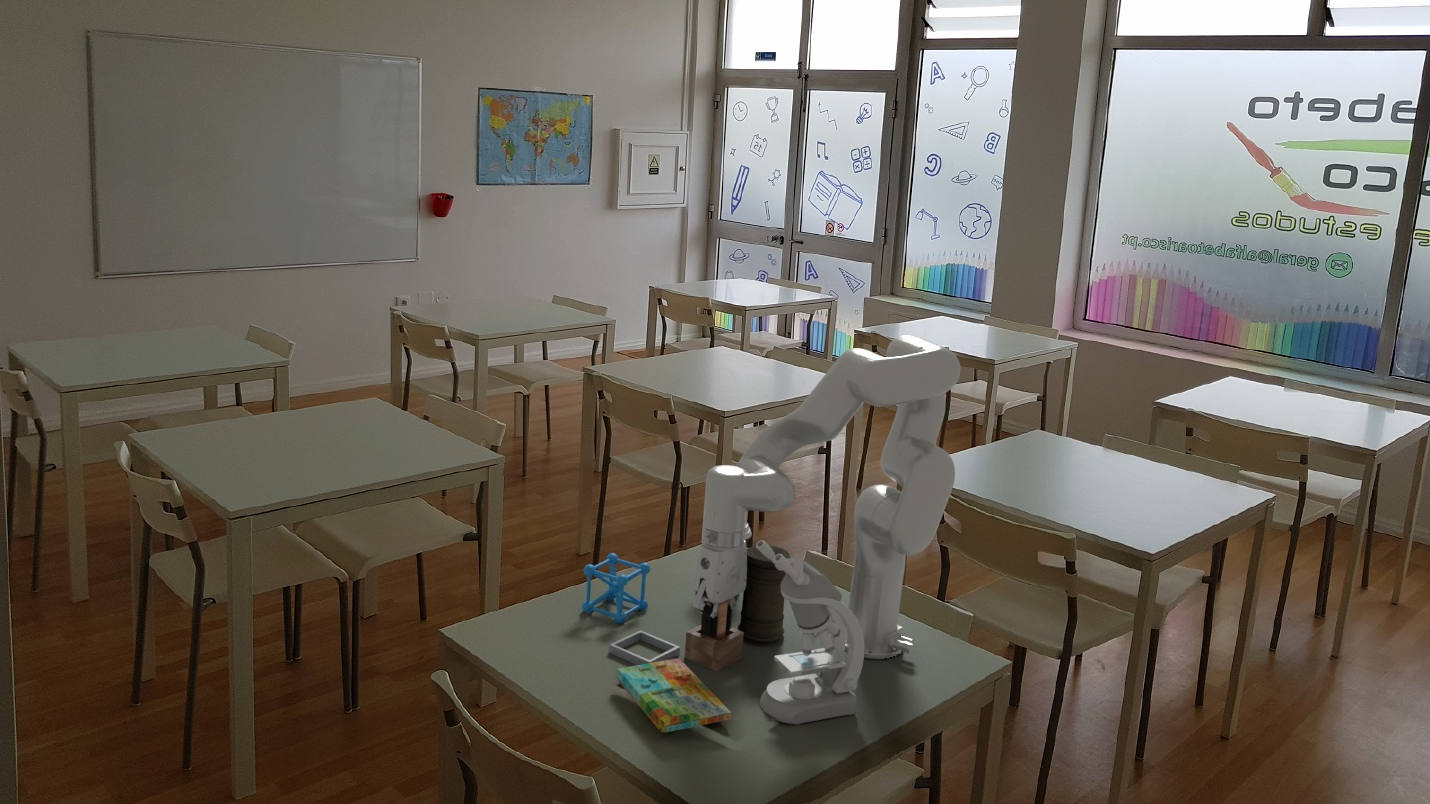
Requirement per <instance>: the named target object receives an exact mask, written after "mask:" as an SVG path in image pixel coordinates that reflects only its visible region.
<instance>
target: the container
mask: <svg viewBox="0 0 1430 804" xmlns="http://www.w3.org/2000/svg"><path fill="white" fill-rule="evenodd" d="M768 545H769V544H768ZM769 546H770V547H771V549H772V550H773V552H774V553H775V555H777V554H782V555H783V556H784V557H785V558H786V559H787V558H791V555H790V553H789V551H787V549H784V548H782V547H779V546H775V545H769ZM786 574H787V573H785V571H783V570H778V569H777V568H776V567H775V564H774V563H773V562H772V561H771V560H770V559H768V558H767V557H765V556H764V555H763V554H762V553H761V552H760V551H759V550H758V549H757V548H756V545H752V546H750V547H747V581H746V588H745V590H744V591H743V592H742V593H743V595H742V603H741V604H742V605H741V611H740V622H739V624H738V626H737V630H739V631H742V632H744V636H743V644H746V645H748V646H753V647H758V648H759V647H760V648H767V647H768V648H770V647H775V646H778V645H780V644H782V643H783V642H784V639H785V635H784V634H785V629H784V626H783V625H784V619H785V615H784V611H785V610H784V609H785V598H784V597H783V596H782V593H781V588H780V585H781V582H782V580H783V578H784V577H785V575H786Z"/></svg>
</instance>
